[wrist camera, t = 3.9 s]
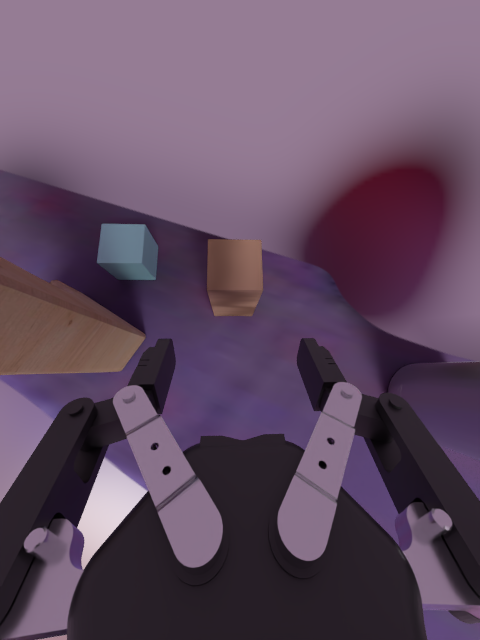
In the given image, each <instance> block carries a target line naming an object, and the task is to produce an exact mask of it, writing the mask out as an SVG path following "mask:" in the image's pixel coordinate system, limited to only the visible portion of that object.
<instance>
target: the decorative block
mask: <svg viewBox="0 0 480 640" xmlns="http://www.w3.org/2000/svg"><path fill="white" fill-rule="evenodd" d="M145 338H146V337H145V334H144V333H143V332H141V331H140V330H138V329H137V328H135V327H134V326H132V325H130V324H129V323H127V322H126V321H124V320H123V319H121V318H120V317H118V316H117V315H115V314H114V313H112V312H110V311H109V310H107V309H106V308H104V307H103V306H101V305H100V304H98V303H97V302H95V301H93V300H92V299H90V298H89V297H87V296H86V295H84V294H83V293H81V292H79V291H77V290H75V289H74V288H72V287H70V286H68V285H66V284H64V283H62V282H60V281H58V280H53V281H51V282H50V283H48V282H46V281H44V280H42V279H40V278H38V277H36V276H34V275H33V274H31V273H29V272H27V271H25V270H23V269H22V268H20V267H18V266H16V265H14V264H13V263H11V262H9V261H7V260H5V259H3V258H2V257H0V375H16V374H49V373H91V372H118V371H122V369H123V368H124V367H125V365H126V364H127V363H128V361H129V360H130V358H131V357H132V356H133V354H134V353H135V352H136V350H137V349H138V348H139V346H140V345H141V343H142V342H143V341H144V339H145Z"/></svg>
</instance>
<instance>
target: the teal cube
mask: <svg viewBox="0 0 480 640" xmlns="http://www.w3.org/2000/svg"><path fill="white" fill-rule="evenodd" d="M157 257H158V245H157V244H156V242H155V240H154V239H153V237H152V235H151V233H150V232H149V230H148V228H147V227H146V225H145V224H102V227H101V234H100V242H99V250H98V257H97V264H99V265H100V266H101V267H103V268H104V269H105V270H106V271H108V272H109V273H110V274H111V275H113V276H114V277H115V278H116V279H118V280H156V271H157Z"/></svg>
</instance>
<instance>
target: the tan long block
mask: <svg viewBox="0 0 480 640" xmlns="http://www.w3.org/2000/svg"><path fill="white" fill-rule="evenodd" d="M262 291H263V276H262V247H261V240H228V239H208V264H207V292H208V295H209V299H210V302H211V306H212V309H213V313H214V316H252V315H253V313H254V310H255V308H256V306H257V303H258V301H259V298H260V296H261V294H262Z"/></svg>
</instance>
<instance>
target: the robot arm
mask: <svg viewBox="0 0 480 640" xmlns="http://www.w3.org/2000/svg"><path fill="white" fill-rule="evenodd" d="M175 363H176V359H175V352H174V347H173V341H172V339H158V341H157V343H156V346H155V347H149V348H148V349H147V350H146V351H145V352H144V353H143V355H142V357H141V359H140V361H139V363H138V366H137V367H136V369H135V371H134V373H133V375H132V377H131V379H130V382H129V384H128V386H127V387H125V388H123V389H121V390H120V391H118V392H117V393H116V395H115V396H114V398H112V399H108V400H105V401H101V402H97V403H94V402H93V401H92V400H91V399H90V398H79V399H76V400H73V401H71V402H70V403H68V404H67V405H65V406H64V407H63V408H62V409H61V411H60V412H59V414H58V415H57V417H56V418H55V420H54V421H53V423H52V424H51V426H50V428H49V429H48V431H47V432H46V434H45V435H44V437H43V438H42V440H41V441H40V443H39V444H38V446H37V447H36V449H35V451H34V452H33V454H32V455H31V457H30V458H29V460H28V461H27V463H26V464H25V466H24V468H23V469H22V471H21V472H20V474H19V475H18V477H17V478H16V480H15V482H14V483H13V485H12V486H11V488H10V489H9V491H8V492H7V494H6V495H5V497H4V498H3V500H2V501H1V503H0V640H38V639H44V638H50V637H56V636H62V635H67V640H427V636H426V630H425V624H424V616H423V610H448V611H449V612H450V613H451V614H452V615H453V616H454V617H456V618H457V619H459V620H460V621H462V622H465V623H468V624H473V623H479V622H480V501H479V499H478V498H477V497H476V495H475V494H474V493H473V491H472V490H471V488H470V487H469V486H468V484H467V483H466V482H465V480H464V479H463V477H462V476H461V475H460V473H459V472H458V471H457V469H456V468H455V466H454V465H453V464H452V462H451V461H450V460H449V458H448V457H447V455H446V454H445V453H444V451H443V450H442V449H441V447H440V446H442V447H444V448H447V449H449V450H452V451H455V452H457V453H460V454H463V455H465V456H468V457H471V458H474V459H476V460H479V461H480V362H442V363H413V364H409V365H406V366H404V367H402V368H400V369H399V370H398V371H397V372H396V373H395V374H394V376H393V377H392V379H391V381H390V384H389V389H388V393H383V394H381V395H380V397H379V398H375V397H371V396H367V395H363V394H361V393H360V391H359V390H358V389H357V388H356V387H355V386H353V385H351V384H349V383H347V382H346V380H345V378H344V376H343V375H342V373H341V371H340V370H339V368H338V366H337V364H336V363H335V361H334V359H333V357H332V356H331V354H330V352H329V351H328V350H326V349H325V348H324V347H323V346H318V344H317V342H316V340H315V339H314V338H302V339H301V341H300V346H299V350H298V355H297V366H298V369H299V371H300V374H301V377H302V380H303V382H304V385H305V388H306V390H307V393H308V396H309V399H310V401H311V404H312V407H313V409H314V411H321V412H322V413H321V415H320V417H319V420H318V422H317V424H316V426H315V429H314V431H313V433H312V436H311V438H310V440H309V443H308V445H307V447H306V450H303V449H302V448H301V447H299V446H297V445H295V444H293V443H291V442H288V441H285V437H284V434H264V435H260V436H257V437H254V438H251V439H247V440H238V439H233V438H229V437H225V436H201V440H200V443H199V444H196V445H194V446H191V447H190V448H188V449H186V450H185V451H184V452H182V451H181V449H180V448H179V446H178V444H177V443H176V441H175V439H174V437H173V436H172V434H171V432H170V431H169V429H168V427H167V426H166V424H165V422H164V420H163V419H162V417H161V416H160V415H158V414H162V412H163V408H164V405H165V401H166V398H167V394H168V391H169V387H170V383H171V380H172V376H173V373H174V369H175ZM354 434H355V435H358V436H362V437H364V439H365V442H366V444H367V446H368V448H369V450H370V453H371V455H372V457H373V459H374V461H375V463H376V466H377V468H378V470H379V472H380V474H381V476H382V479H383V481H384V483H385V485H386V487H387V490H388V492H389V494H390V496H391V498H392V500H393V503H394V505H395V507H396V509H397V511H398V513H399V515H398V516H397V517H396V520H395V528H396V532H397V535H398V538H399V546H398V544H397V543H396V542H395V541H394V540H393V538H392V537H391V536H390V535H389V534H388V533H387V532H386V531H385V530H384V529H383V528H382V527H381V526H380V525H379V524H378V523H377V522H376V521H375V520H374V519H373V518H372V517H371V516H370V515H369V514H368V513H367V512H366V511H365V510H364V509H363V508H362V507H361V506H360V505H359V504H358V503H357V502H356V501H355V500H354V499H353V498H352V497H351V496H350V495H349V494H348V493H347V492H346V491H345V490H344V489H343V488H342V487H341V482H342V479H343V475H344V471H345V467H346V464H347V460H348V456H349V452H350V448H351V445H352V441H353V437H354ZM124 439H128V441H129V444H130V446H131V449H132V451H133V454H134V456H135V458H136V461H137V463H138V466H139V468H140V471H141V473H142V475H143V478H144V480H145V483H146V485H147V488H148V490H149V491H148V492H147V493H146V494H145V495H144V497H143V498H142V499H141V500H140V501H139V502H138V504H137V505H136V506H135V507H134V508H133V509H132V511H131V512H130V513H129V514H128V515H127V516H126V517H125V519H124V520H123V521H122V522H121V523H120V524H119V526H118V527H117V528H116V529H115V530H114V532H113V533H112V534H111V535H110V536H109V537H108V538H107V540H106V541H105V542H104V543H103V544H102V546H101V547H100V548H99V549H98V550H97V552H96V553H95V554H94V555H93V557H92V558H91V559H90V561H89V563H88V564H87V566H86V567H85V569H84V570H83V569H82V566H81V557H82V552H83V547H84V537H83V534H82V533H81V532H80V531H79V530H78V529H77V526H78V524H79V521H80V518H81V516H82V513H83V511H84V508H85V505H86V503H87V500H88V498H89V495H90V493H91V490H92V487H93V484H94V482H95V479H96V477H97V474H98V471H99V469H100V466H101V464H102V461H103V459H104V456H105V454H106V451H107V448H108V446H109V444H112V443H115V442H118V441H121V440H124Z"/></svg>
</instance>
